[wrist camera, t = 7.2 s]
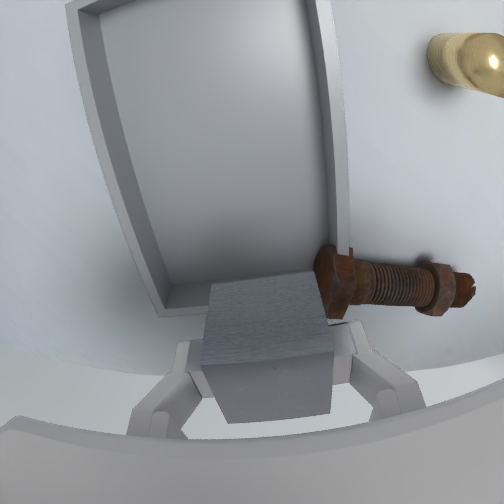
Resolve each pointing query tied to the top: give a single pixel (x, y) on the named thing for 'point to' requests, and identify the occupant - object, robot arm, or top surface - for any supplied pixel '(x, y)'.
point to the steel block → (268, 349)
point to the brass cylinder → (469, 61)
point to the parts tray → (216, 136)
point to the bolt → (388, 284)
